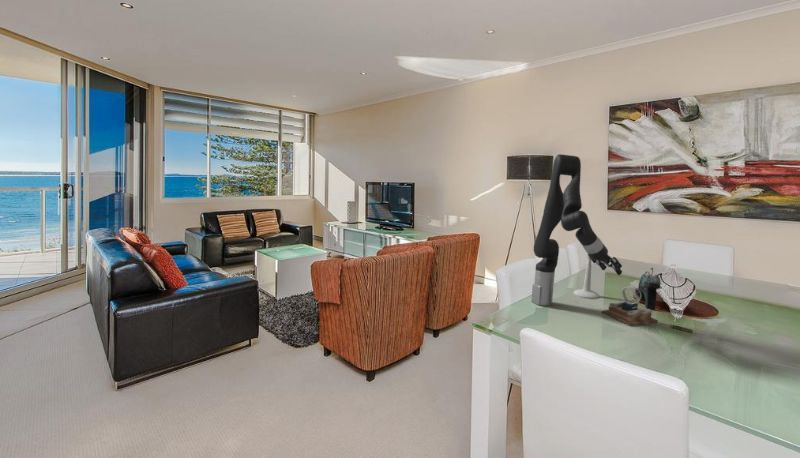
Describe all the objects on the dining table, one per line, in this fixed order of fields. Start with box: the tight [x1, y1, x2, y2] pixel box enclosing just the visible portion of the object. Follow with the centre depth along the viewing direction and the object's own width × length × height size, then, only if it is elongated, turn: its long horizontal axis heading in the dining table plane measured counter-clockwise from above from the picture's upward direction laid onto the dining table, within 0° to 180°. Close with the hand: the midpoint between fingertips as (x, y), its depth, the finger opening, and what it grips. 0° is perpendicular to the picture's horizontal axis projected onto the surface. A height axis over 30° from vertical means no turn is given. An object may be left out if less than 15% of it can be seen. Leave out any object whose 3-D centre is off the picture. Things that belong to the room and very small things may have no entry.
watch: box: [621, 285, 642, 311], centre depth 175 cm, size 6×8×11 cm
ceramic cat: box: [637, 267, 662, 311], centre depth 194 cm, size 20×6×20 cm, turn 161°
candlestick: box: [573, 253, 600, 300], centre depth 207 cm, size 13×13×30 cm
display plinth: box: [600, 301, 659, 327], centre depth 176 cm, size 16×16×6 cm
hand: (612, 271), depth 169 cm, fingers open, 8 cm apart
